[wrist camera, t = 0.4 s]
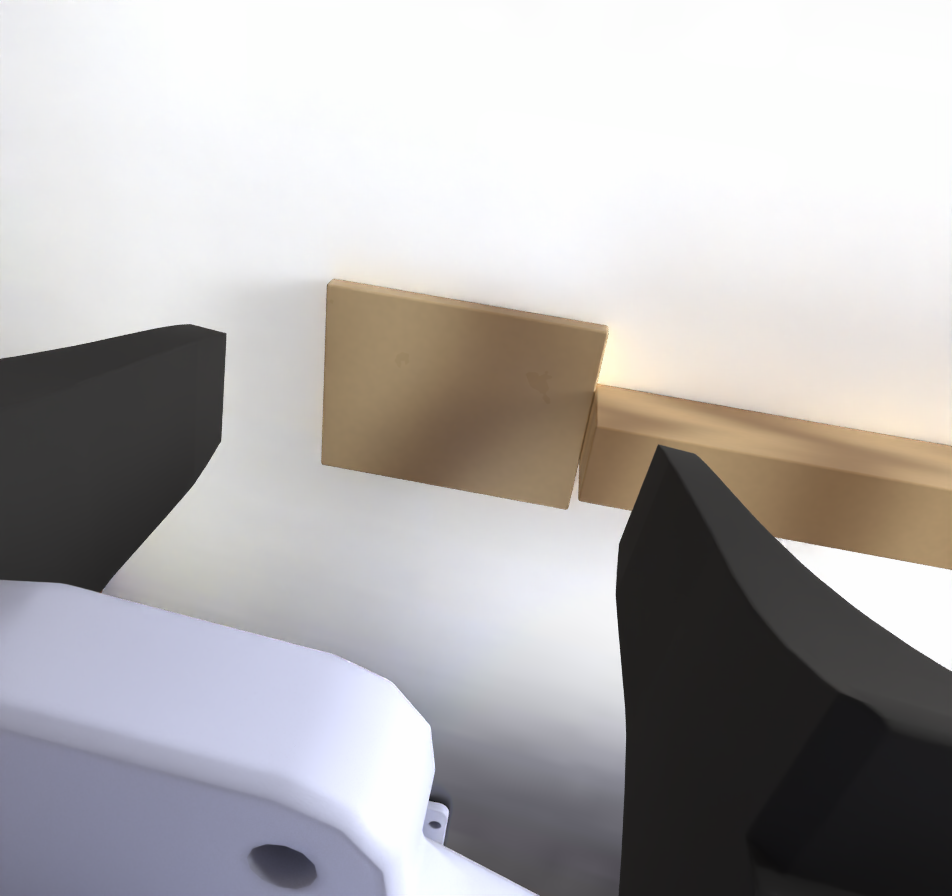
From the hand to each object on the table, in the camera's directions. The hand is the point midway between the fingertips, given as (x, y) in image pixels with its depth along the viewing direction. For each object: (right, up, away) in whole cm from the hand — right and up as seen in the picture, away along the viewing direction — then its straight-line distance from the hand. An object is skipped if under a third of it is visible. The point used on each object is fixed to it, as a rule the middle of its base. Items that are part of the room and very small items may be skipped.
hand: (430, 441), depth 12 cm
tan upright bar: (+6, 0, +10) cm, 12 cm away
